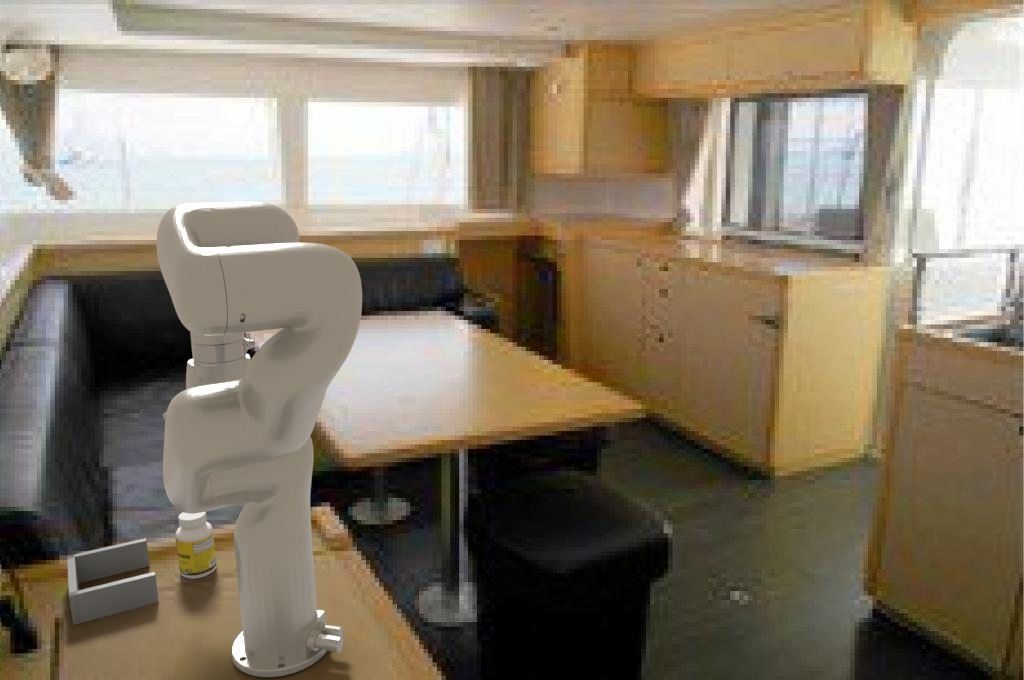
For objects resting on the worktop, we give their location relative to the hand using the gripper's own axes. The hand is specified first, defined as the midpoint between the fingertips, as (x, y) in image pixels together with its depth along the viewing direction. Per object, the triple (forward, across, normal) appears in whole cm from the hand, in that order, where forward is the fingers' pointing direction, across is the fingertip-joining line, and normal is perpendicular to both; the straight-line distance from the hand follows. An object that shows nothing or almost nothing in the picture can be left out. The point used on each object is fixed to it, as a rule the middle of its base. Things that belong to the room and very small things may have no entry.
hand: (228, 455), depth 120 cm
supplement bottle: (+18, +6, 0) cm, 19 cm away
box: (+18, +18, +1) cm, 26 cm away
